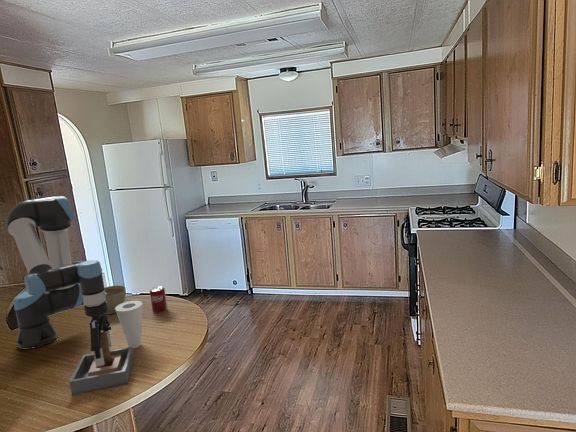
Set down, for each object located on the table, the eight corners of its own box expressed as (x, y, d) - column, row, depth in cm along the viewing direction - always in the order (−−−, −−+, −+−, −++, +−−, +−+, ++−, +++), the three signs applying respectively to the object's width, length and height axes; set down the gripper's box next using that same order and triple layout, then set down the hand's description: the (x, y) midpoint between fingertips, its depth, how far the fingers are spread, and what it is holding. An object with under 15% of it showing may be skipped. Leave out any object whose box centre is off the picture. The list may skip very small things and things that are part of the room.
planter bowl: (101, 306, 213) (98, 287, 211) (132, 302, 214) (129, 284, 212) (89, 318, 197) (86, 298, 195) (123, 315, 199) (119, 295, 197)
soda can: (162, 314, 197) (159, 291, 194) (149, 313, 198) (146, 291, 196) (169, 308, 204) (167, 286, 201) (157, 307, 205) (154, 286, 203)
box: (71, 394, 135) (69, 381, 134) (85, 367, 152) (82, 355, 151) (127, 384, 139) (125, 371, 138) (134, 358, 156) (132, 346, 155)
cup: (122, 354, 160) (116, 313, 156) (120, 343, 169) (114, 304, 166) (149, 347, 164) (144, 306, 161) (146, 336, 174) (140, 298, 170)
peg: (99, 372, 146) (94, 338, 143) (102, 367, 150) (96, 333, 147) (111, 370, 147) (105, 336, 144) (113, 365, 151) (107, 331, 148)
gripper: (98, 314, 132) (108, 371, 136) (112, 289, 156) (120, 338, 160) (74, 318, 131) (85, 376, 135) (92, 292, 154) (100, 342, 158)
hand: (104, 355), depth 147 cm, fingers open, 13 cm apart
